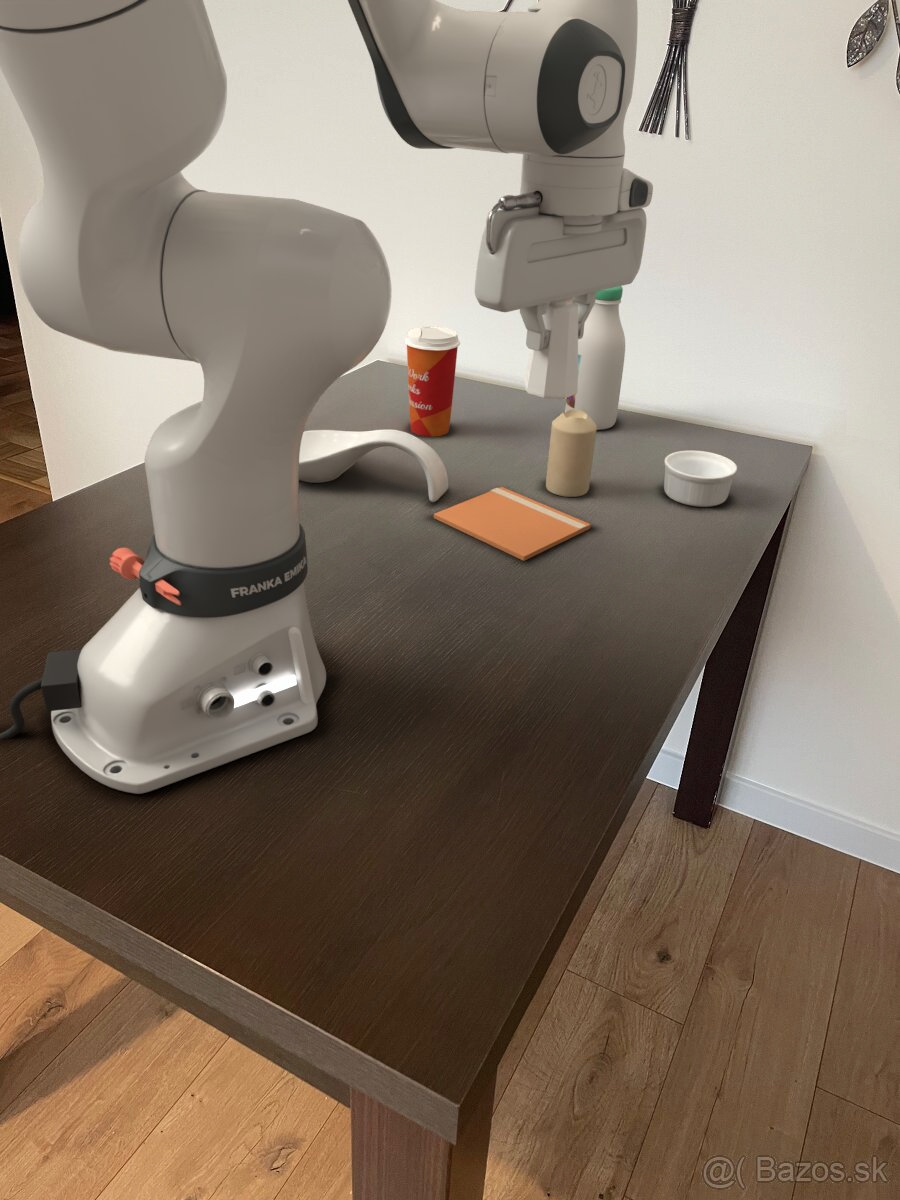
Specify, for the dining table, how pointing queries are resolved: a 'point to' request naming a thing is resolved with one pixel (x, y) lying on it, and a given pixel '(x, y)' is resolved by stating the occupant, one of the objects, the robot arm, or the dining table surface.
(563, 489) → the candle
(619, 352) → the milk bottle
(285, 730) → the robot arm
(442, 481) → the spoon rest
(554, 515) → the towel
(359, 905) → the dining table surface
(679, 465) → the ramekin
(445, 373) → the paper cup
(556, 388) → the pepper shaker
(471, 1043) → the dining table surface
